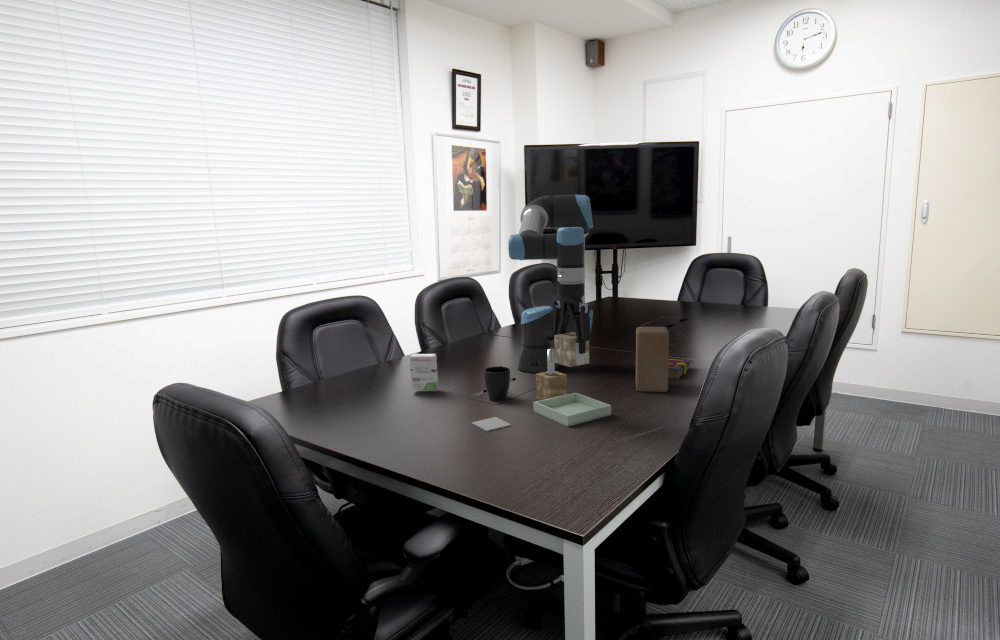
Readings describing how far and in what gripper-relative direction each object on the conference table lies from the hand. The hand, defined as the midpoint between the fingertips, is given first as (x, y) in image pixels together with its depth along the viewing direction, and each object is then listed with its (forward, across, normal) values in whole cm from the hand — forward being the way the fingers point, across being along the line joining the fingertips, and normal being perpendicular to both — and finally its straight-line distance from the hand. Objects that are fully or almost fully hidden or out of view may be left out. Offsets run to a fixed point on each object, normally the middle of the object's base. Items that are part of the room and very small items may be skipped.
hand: (571, 361), depth 171 cm
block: (+16, -4, +37) cm, 40 cm away
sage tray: (+16, 0, 0) cm, 16 cm away
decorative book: (+16, -13, +56) cm, 60 cm away
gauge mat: (+16, -6, -24) cm, 29 cm away
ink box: (+16, -51, -23) cm, 58 cm away
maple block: (0, 0, 0) cm, 0 cm away
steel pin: (+16, -15, +4) cm, 22 cm away
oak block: (+15, -15, +4) cm, 22 cm away
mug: (+16, -27, -8) cm, 32 cm away
